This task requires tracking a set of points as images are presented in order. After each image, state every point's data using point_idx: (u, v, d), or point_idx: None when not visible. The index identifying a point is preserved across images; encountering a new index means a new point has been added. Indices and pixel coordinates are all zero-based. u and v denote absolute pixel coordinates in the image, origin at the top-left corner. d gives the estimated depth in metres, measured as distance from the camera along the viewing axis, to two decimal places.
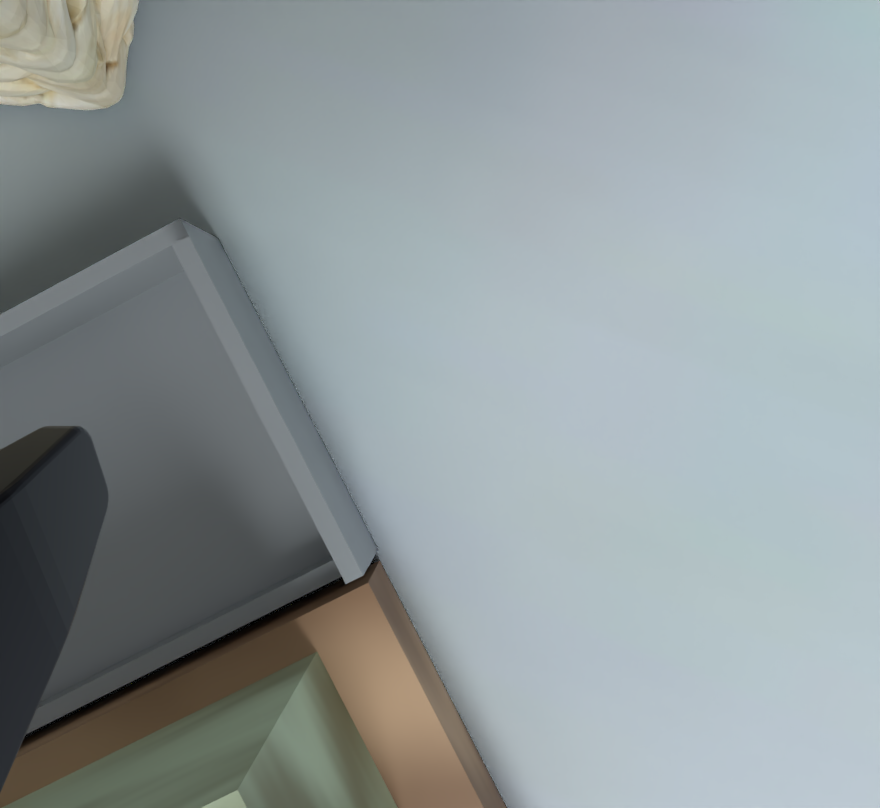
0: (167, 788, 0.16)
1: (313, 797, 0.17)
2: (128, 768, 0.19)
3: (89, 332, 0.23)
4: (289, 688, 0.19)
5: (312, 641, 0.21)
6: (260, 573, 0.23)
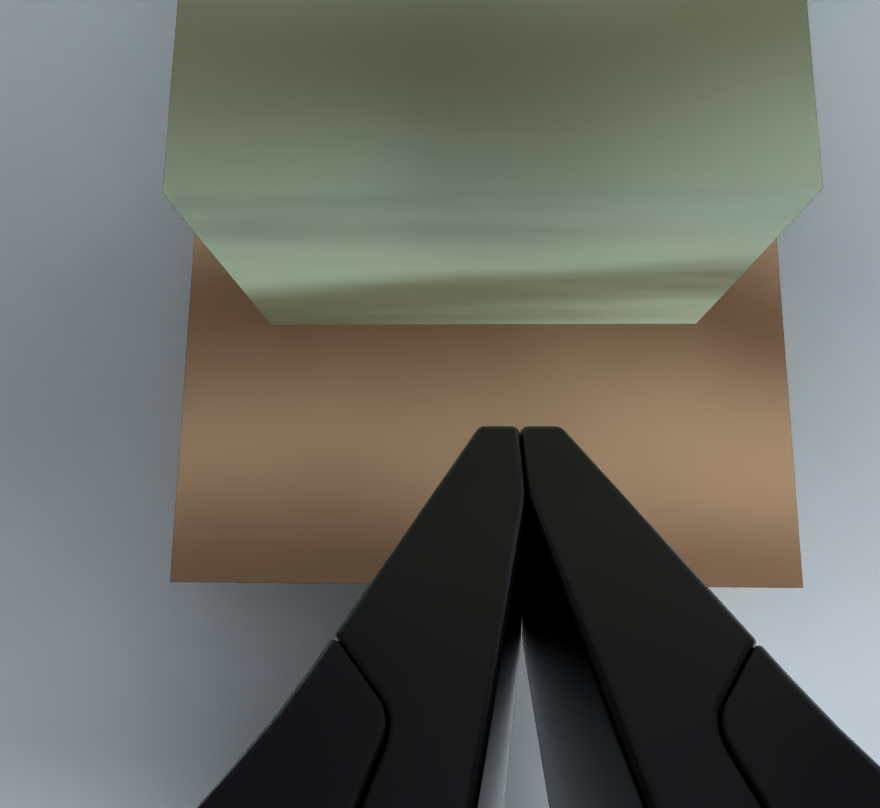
0: None
1: None
2: None
3: None
4: None
5: None
6: None
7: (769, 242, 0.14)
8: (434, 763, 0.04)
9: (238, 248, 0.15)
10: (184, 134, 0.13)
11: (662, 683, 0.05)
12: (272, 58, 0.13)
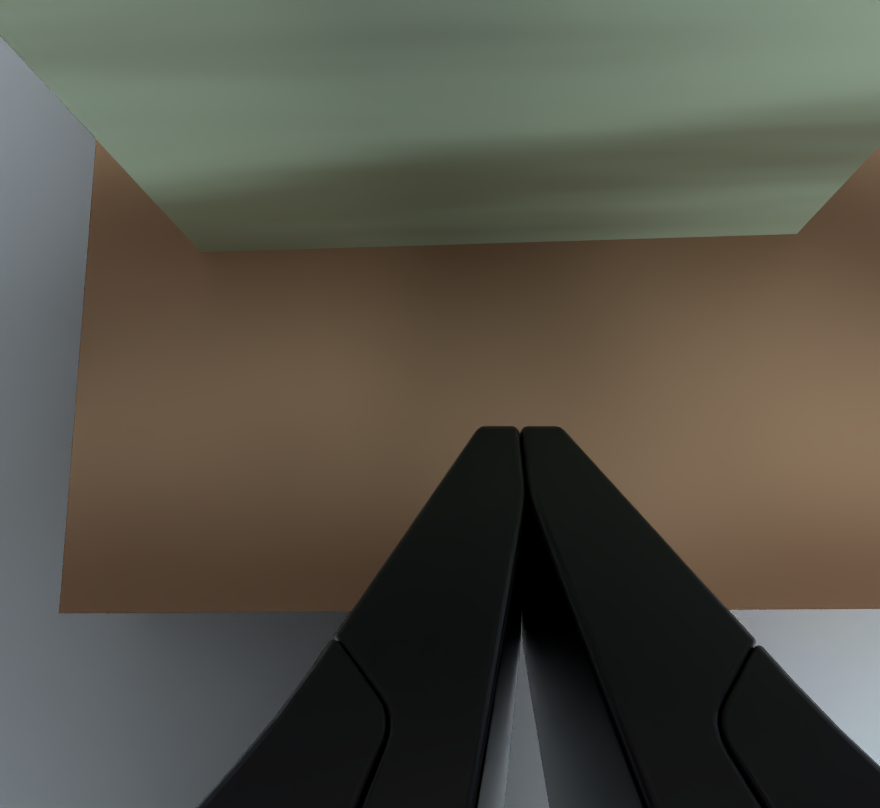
0: None
1: None
2: None
3: None
4: None
5: None
6: None
7: None
8: (434, 763, 0.04)
9: (103, 94, 0.09)
10: None
11: (662, 683, 0.05)
12: None
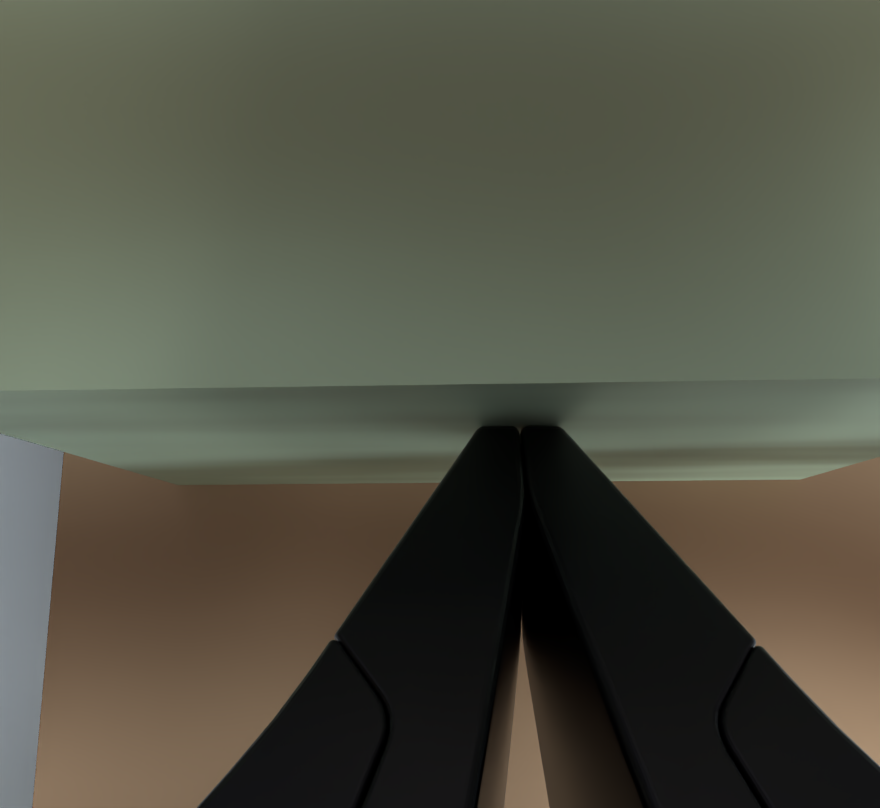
0: None
1: None
2: None
3: None
4: None
5: None
6: None
7: None
8: (434, 763, 0.04)
9: (67, 437, 0.09)
10: None
11: (663, 683, 0.05)
12: (82, 126, 0.07)
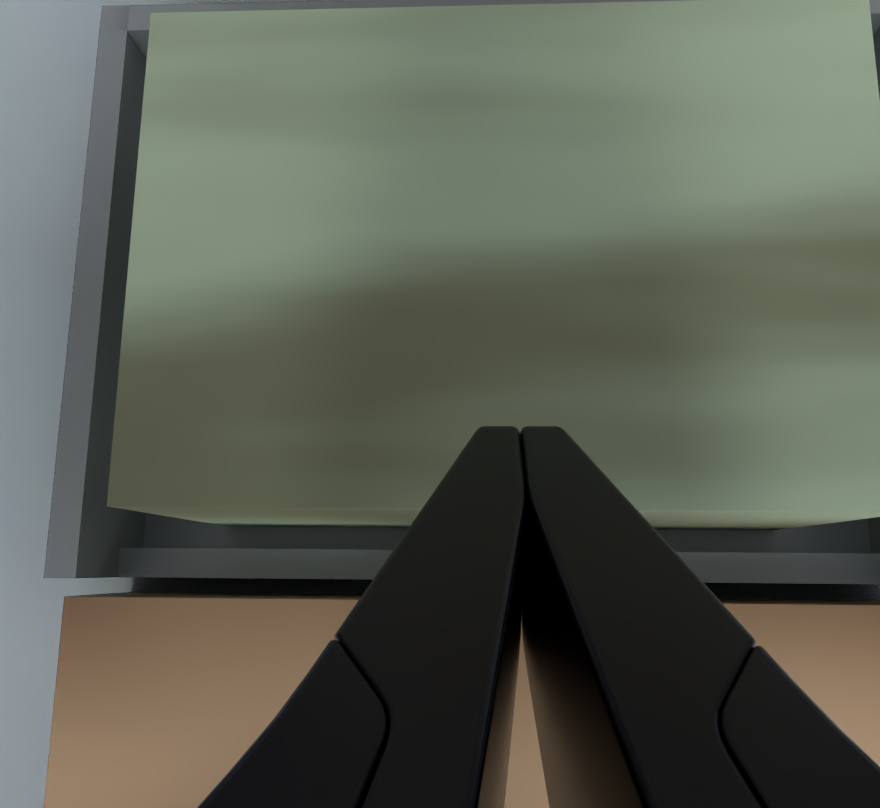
0: None
1: None
2: None
3: None
4: None
5: (834, 653, 0.12)
6: None
7: None
8: (434, 763, 0.04)
9: (177, 156, 0.11)
10: None
11: (663, 683, 0.05)
12: None
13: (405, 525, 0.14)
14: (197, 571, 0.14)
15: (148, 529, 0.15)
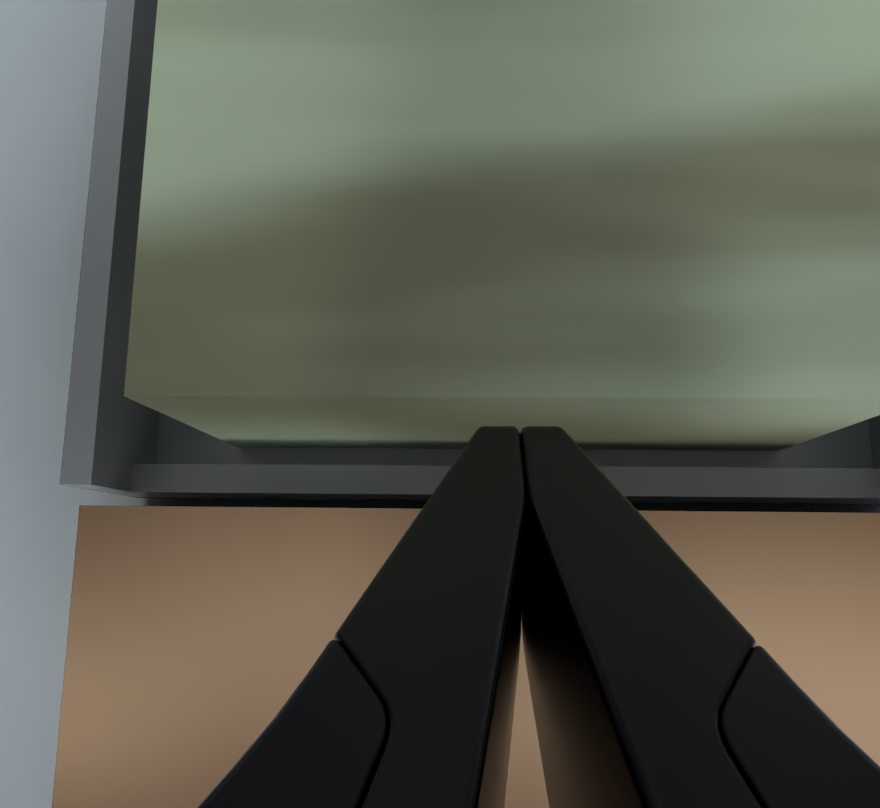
0: None
1: None
2: None
3: None
4: None
5: (836, 559, 0.13)
6: None
7: None
8: (434, 763, 0.04)
9: (191, 59, 0.11)
10: None
11: (663, 683, 0.05)
12: None
13: (414, 443, 0.15)
14: (209, 486, 0.14)
15: (160, 450, 0.15)
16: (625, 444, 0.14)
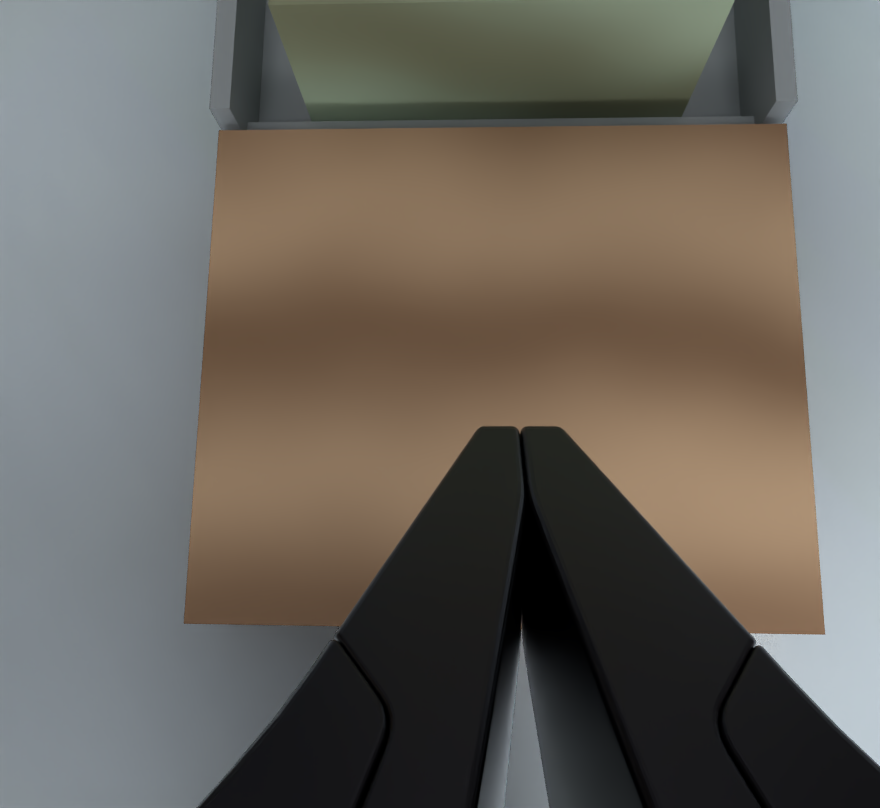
0: None
1: None
2: None
3: None
4: None
5: (704, 151, 0.20)
6: None
7: None
8: (434, 763, 0.04)
9: None
10: None
11: (663, 683, 0.05)
12: None
13: (434, 111, 0.22)
14: None
15: None
16: (574, 109, 0.22)
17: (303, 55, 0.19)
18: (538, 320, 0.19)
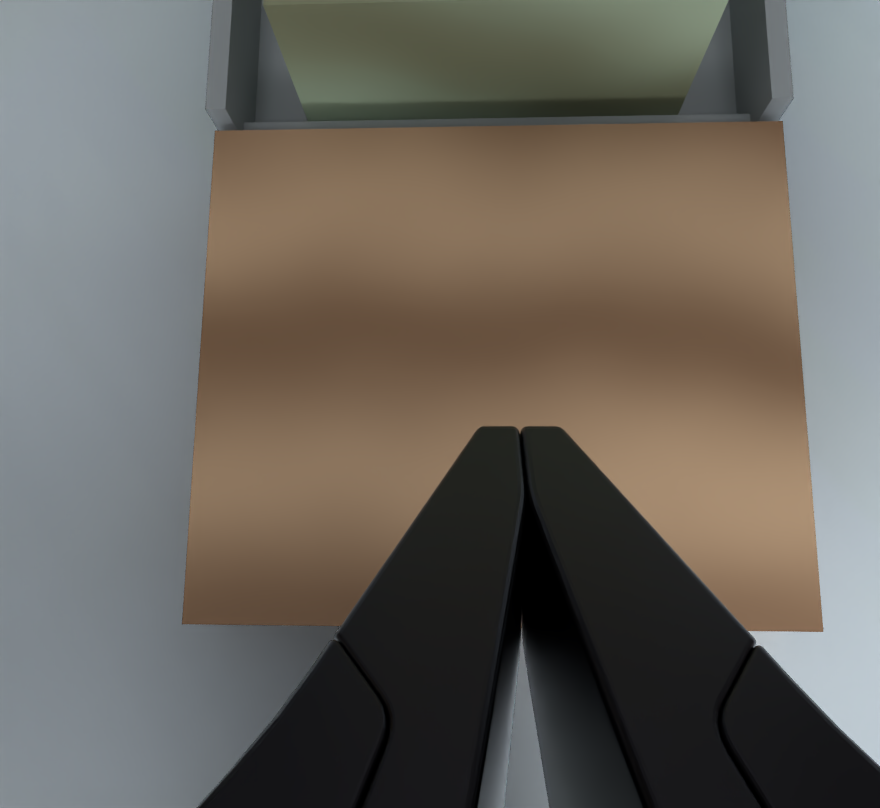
0: None
1: None
2: None
3: None
4: None
5: (700, 149, 0.20)
6: None
7: None
8: (434, 763, 0.04)
9: None
10: None
11: (663, 683, 0.05)
12: None
13: (430, 110, 0.22)
14: None
15: None
16: (571, 107, 0.22)
17: (298, 55, 0.19)
18: (535, 318, 0.19)
